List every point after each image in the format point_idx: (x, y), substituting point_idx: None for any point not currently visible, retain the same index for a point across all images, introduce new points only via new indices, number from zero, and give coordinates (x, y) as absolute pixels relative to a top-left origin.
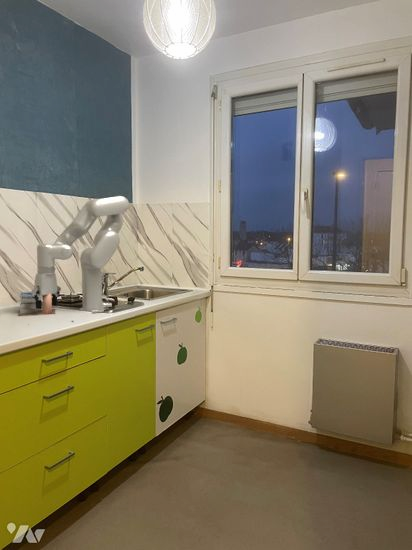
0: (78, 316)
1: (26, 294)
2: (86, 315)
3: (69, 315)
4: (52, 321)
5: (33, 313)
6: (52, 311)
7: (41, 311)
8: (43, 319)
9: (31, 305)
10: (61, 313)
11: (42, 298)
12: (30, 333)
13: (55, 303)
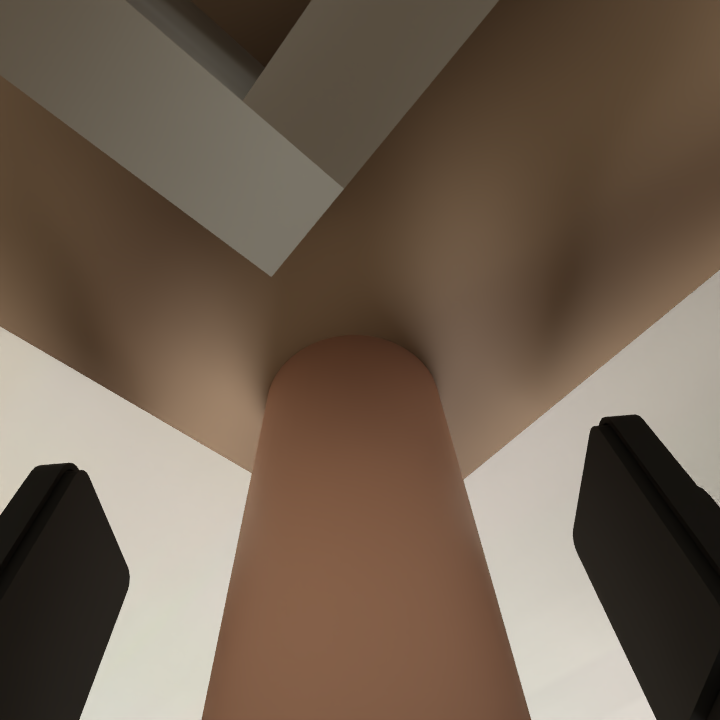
0: (526, 681)
1: None
2: (614, 698)
3: (536, 586)
4: (145, 673)
5: (146, 194)
6: (547, 349)
7: (436, 135)
8: (129, 537)
9: (62, 99)
10: (636, 407)
11: (213, 714)
12: None
13: (596, 578)
